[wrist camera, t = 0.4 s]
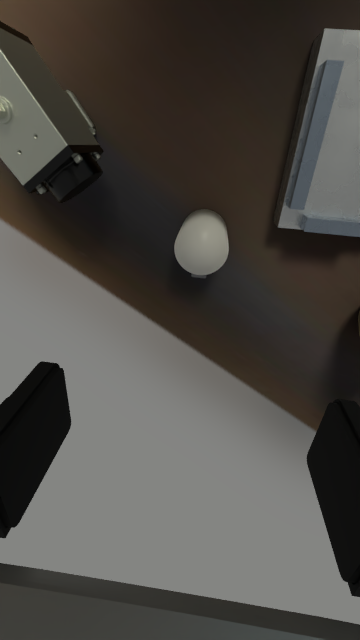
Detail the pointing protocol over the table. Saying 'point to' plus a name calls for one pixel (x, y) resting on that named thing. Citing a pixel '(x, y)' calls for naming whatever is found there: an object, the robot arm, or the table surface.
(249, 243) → the table surface
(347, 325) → the table surface
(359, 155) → the grey fixture tray
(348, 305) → the table surface
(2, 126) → the pneumatic valve
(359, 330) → the squeeze bottle
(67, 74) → the table surface
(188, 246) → the white rounded cylinder
